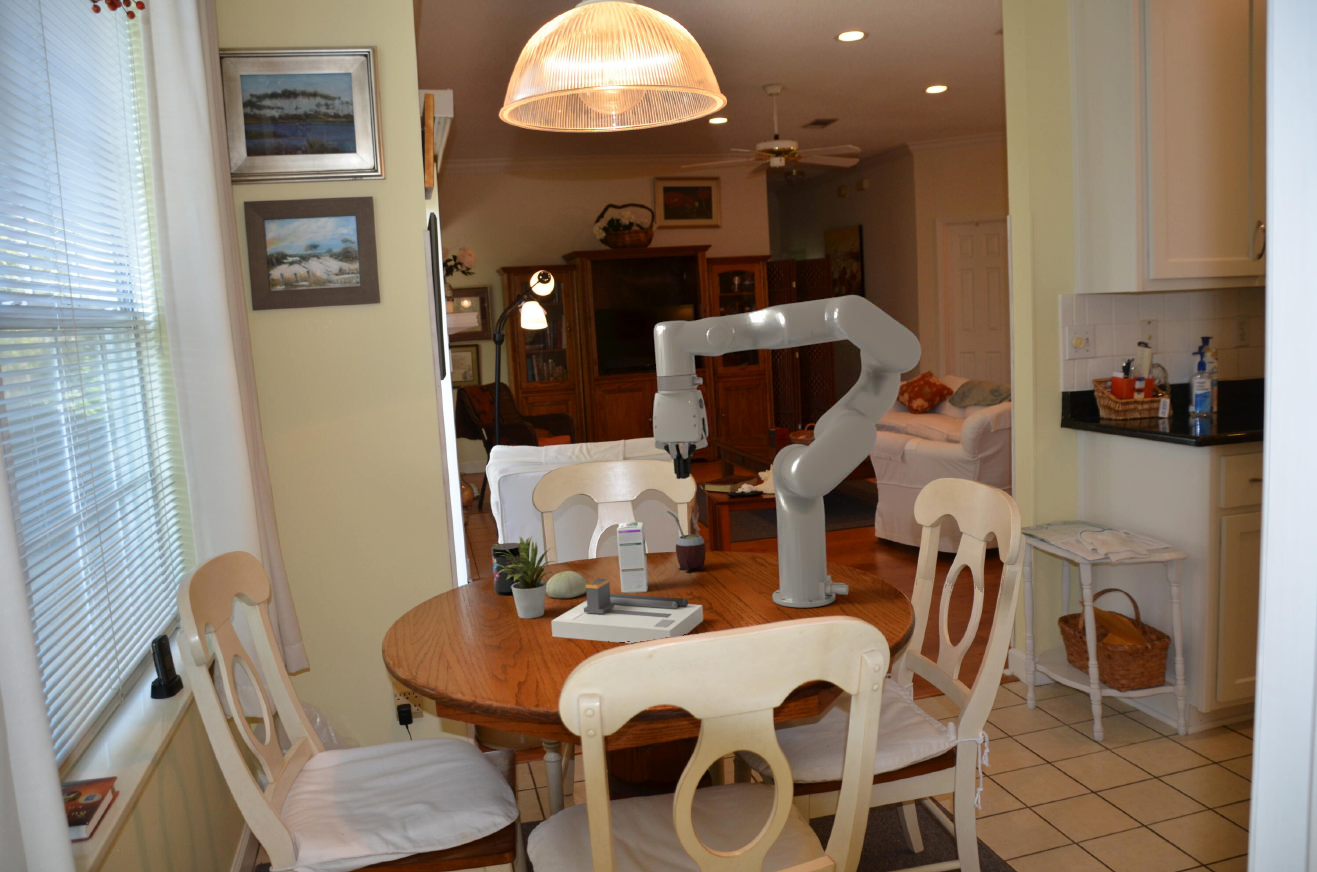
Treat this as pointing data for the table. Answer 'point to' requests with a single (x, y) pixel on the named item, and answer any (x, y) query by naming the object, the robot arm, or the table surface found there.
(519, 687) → the table surface
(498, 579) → the supplement container
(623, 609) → the base
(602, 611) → the handle
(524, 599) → the house plant
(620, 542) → the syrup box
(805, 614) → the table surface
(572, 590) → the sea urchin shell
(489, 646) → the table surface
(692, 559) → the mate gourd
